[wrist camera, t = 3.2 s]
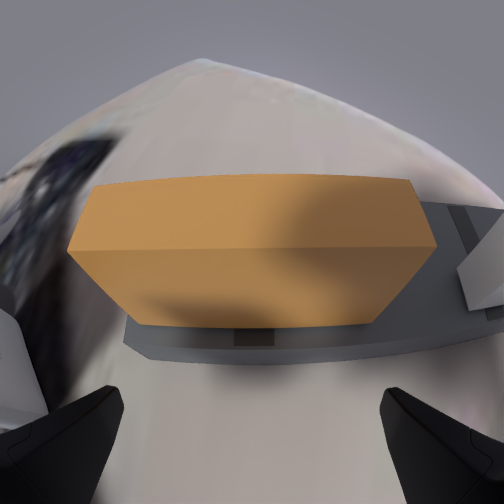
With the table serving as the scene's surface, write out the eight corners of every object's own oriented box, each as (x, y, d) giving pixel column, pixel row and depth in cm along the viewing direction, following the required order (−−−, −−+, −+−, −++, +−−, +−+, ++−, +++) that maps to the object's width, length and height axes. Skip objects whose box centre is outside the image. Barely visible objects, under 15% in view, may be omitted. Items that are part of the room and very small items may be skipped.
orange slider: (371, 323, 14) (437, 246, 8) (139, 324, 14) (66, 251, 8) (362, 272, 15) (409, 179, 9) (148, 274, 16) (94, 186, 10)
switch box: (515, 327, 16) (544, 308, 13) (148, 359, 17) (122, 342, 14) (484, 234, 22) (504, 209, 18) (168, 235, 23) (154, 201, 19)
